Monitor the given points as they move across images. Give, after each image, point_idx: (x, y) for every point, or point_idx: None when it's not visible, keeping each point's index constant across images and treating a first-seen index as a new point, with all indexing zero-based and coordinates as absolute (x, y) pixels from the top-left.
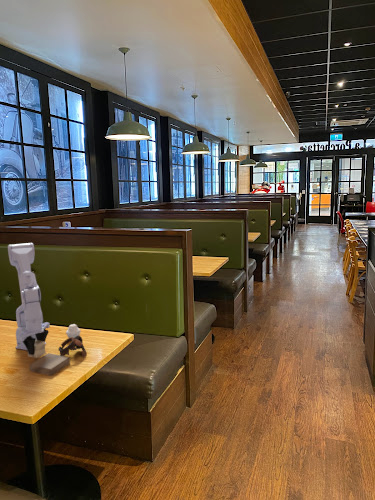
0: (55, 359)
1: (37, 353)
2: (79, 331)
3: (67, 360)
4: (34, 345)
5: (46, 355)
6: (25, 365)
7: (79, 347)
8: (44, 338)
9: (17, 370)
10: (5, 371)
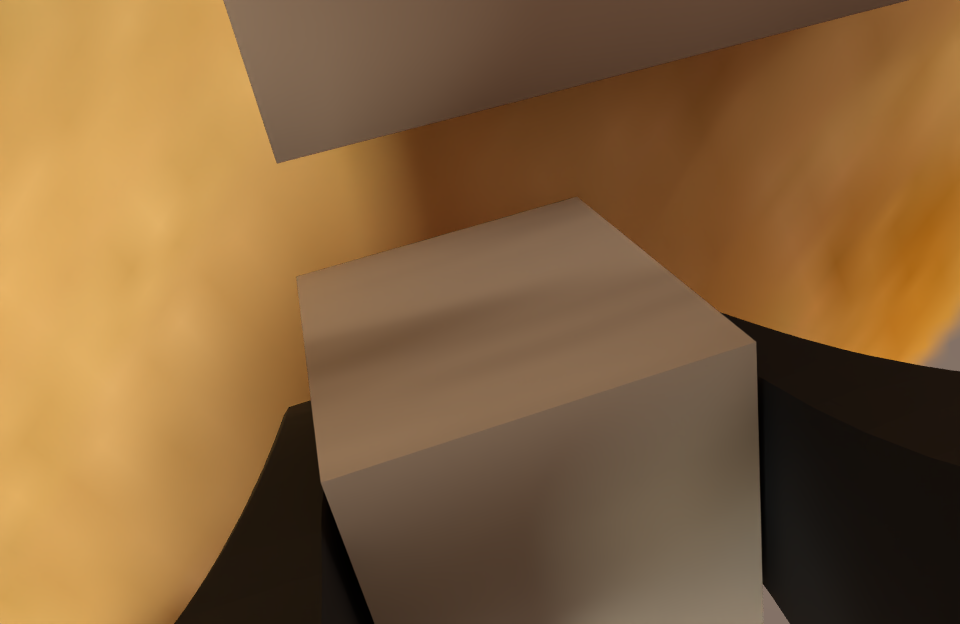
0: None
1: (594, 244)
2: None
3: None
4: (742, 418)
5: (400, 81)
6: (692, 272)
7: None
8: (275, 601)
9: (864, 215)
10: (934, 333)
